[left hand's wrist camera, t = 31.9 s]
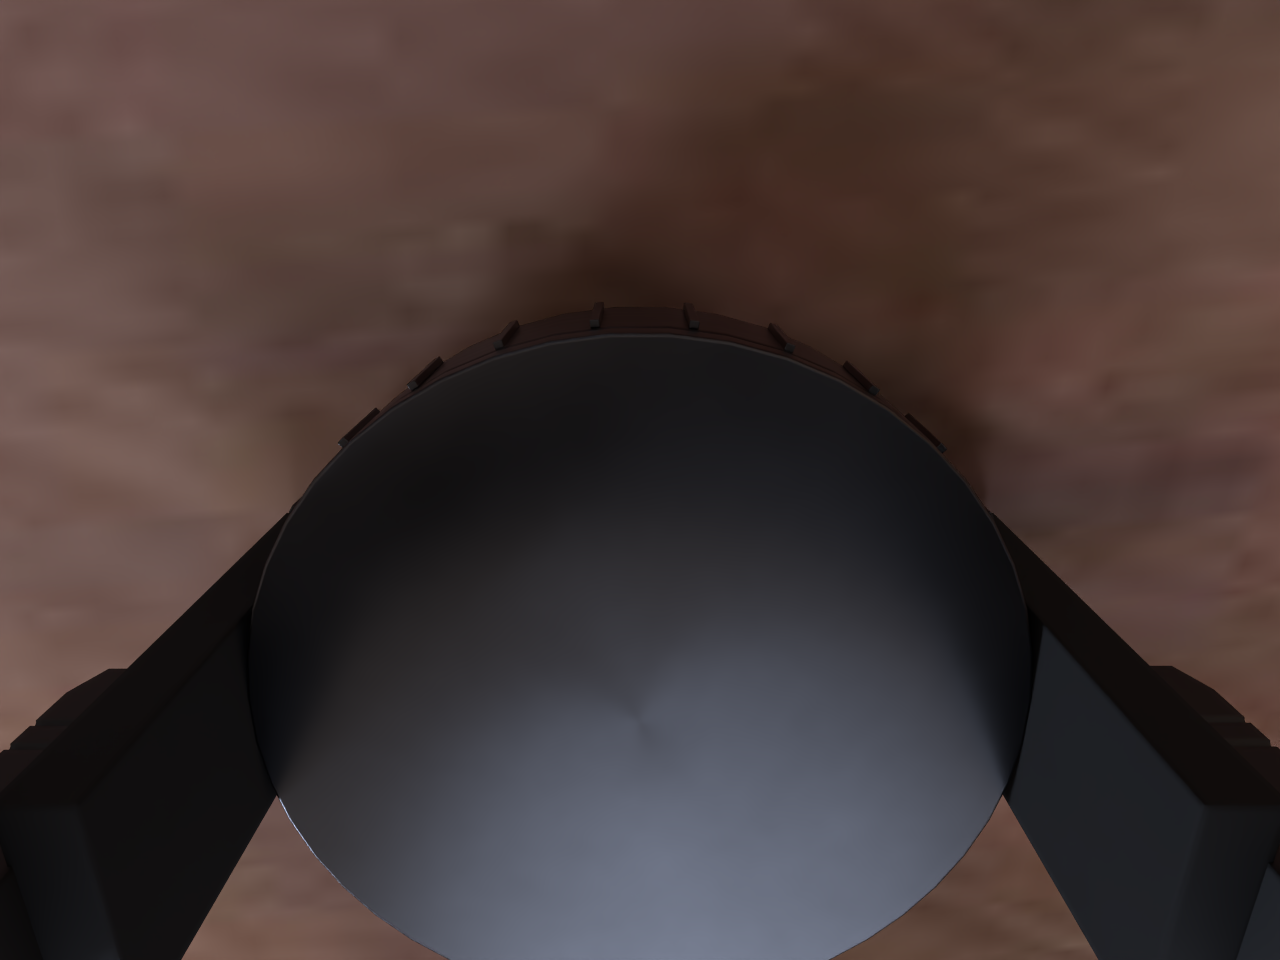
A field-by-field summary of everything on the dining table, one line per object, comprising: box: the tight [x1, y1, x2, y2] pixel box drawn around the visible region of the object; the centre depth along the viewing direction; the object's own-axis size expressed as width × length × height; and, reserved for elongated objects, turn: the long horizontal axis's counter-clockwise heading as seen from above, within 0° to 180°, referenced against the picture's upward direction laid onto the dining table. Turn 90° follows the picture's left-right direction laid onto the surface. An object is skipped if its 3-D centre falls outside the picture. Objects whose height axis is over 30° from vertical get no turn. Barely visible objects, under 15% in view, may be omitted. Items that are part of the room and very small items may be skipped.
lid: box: [247, 302, 1033, 960], centre depth 11 cm, size 10×10×2 cm
